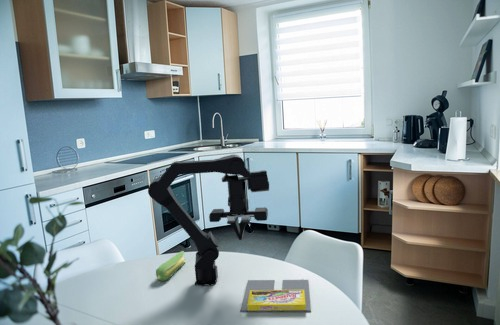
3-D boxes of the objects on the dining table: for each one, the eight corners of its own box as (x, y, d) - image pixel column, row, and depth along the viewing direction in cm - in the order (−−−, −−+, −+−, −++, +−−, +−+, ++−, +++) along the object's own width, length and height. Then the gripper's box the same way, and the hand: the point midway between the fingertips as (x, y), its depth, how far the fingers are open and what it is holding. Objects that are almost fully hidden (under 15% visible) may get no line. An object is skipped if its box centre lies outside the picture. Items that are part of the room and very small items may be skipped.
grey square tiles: (240, 311, 103) (240, 310, 103) (248, 281, 120) (247, 280, 120) (310, 311, 101) (310, 310, 100) (308, 280, 118) (308, 279, 118)
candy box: (304, 287, 108) (306, 304, 100) (304, 294, 108) (306, 311, 100) (249, 289, 110) (246, 305, 102) (250, 295, 110) (247, 312, 102)
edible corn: (150, 271, 123) (161, 268, 121) (179, 249, 142) (189, 247, 140) (155, 285, 123) (166, 283, 122) (183, 262, 142) (193, 259, 140)
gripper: (267, 186, 126) (270, 230, 129) (214, 189, 128) (218, 231, 131) (265, 195, 115) (268, 242, 118) (207, 197, 117) (211, 243, 120)
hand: (240, 239), depth 122 cm, fingers closed
